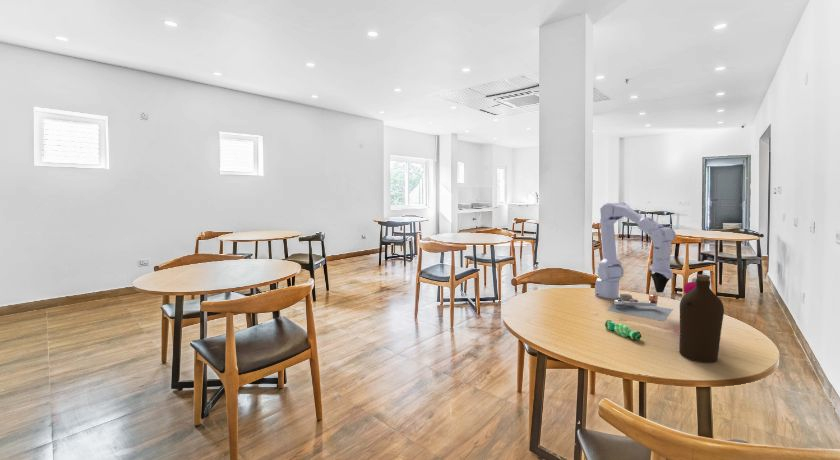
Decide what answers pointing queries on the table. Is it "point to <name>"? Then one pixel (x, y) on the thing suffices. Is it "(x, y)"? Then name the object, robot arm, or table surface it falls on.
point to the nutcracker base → (641, 310)
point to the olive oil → (700, 322)
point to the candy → (622, 330)
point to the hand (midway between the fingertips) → (659, 292)
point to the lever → (635, 302)
